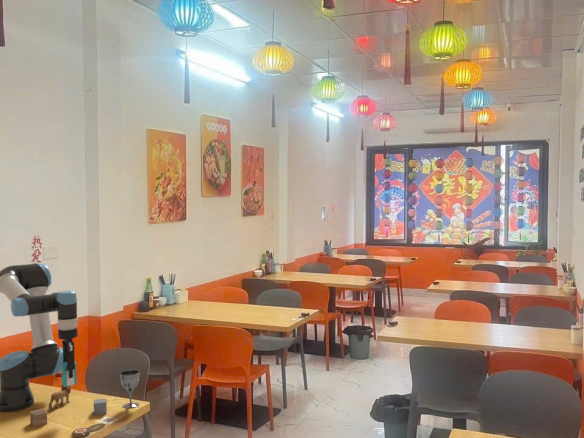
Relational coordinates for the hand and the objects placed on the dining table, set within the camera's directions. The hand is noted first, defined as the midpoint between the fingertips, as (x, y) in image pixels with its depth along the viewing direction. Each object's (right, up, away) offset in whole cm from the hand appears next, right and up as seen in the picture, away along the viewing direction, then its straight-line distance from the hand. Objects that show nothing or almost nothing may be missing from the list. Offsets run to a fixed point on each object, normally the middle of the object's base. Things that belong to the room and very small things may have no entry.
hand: (69, 383), depth 227 cm
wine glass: (+22, -14, +13) cm, 29 cm away
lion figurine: (-11, -15, +16) cm, 24 cm away
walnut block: (-10, -15, -5) cm, 19 cm away
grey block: (+11, -14, +6) cm, 19 cm away
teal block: (0, 0, 0) cm, 0 cm away
